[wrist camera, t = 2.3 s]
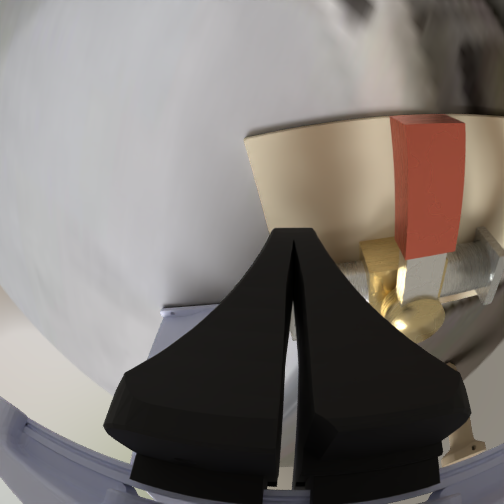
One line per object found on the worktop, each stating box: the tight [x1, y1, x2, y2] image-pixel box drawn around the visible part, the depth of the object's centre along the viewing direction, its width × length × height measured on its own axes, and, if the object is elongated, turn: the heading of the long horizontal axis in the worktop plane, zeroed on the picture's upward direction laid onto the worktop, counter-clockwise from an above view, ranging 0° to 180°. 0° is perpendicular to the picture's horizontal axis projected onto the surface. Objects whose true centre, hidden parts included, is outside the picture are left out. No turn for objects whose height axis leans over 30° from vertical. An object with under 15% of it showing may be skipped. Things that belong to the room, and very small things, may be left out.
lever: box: [380, 114, 466, 343], centre depth 14 cm, size 15×4×2 cm, turn 15°
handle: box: [442, 362, 486, 467], centre depth 25 cm, size 5×6×15 cm
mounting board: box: [244, 114, 504, 303], centre depth 20 cm, size 22×18×1 cm
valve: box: [290, 226, 504, 341], centre depth 20 cm, size 18×6×4 cm, turn 105°
